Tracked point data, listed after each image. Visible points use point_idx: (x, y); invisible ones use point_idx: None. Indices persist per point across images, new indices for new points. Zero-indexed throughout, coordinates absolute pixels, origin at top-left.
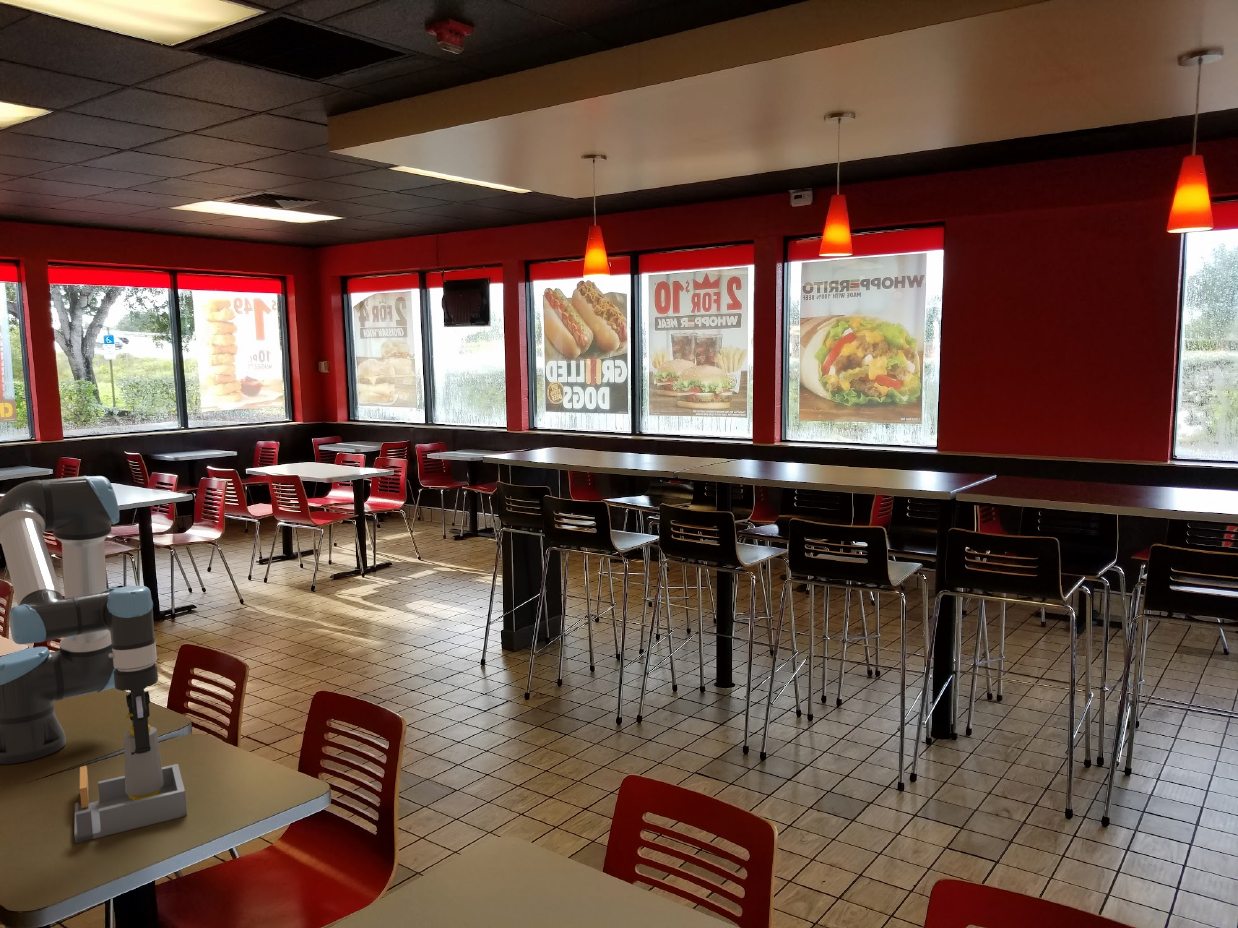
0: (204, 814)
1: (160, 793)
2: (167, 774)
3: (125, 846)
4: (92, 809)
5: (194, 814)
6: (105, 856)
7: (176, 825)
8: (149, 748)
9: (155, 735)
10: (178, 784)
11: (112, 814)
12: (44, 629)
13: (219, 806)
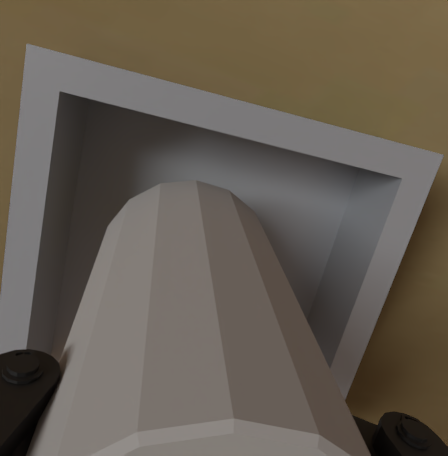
0: (438, 87)
1: (137, 165)
2: (69, 118)
3: (424, 352)
4: None
5: (402, 117)
6: (432, 402)
7: (429, 198)
8: (445, 448)
9: (338, 415)
10: (336, 150)
11: None
12: None
13: (424, 9)
